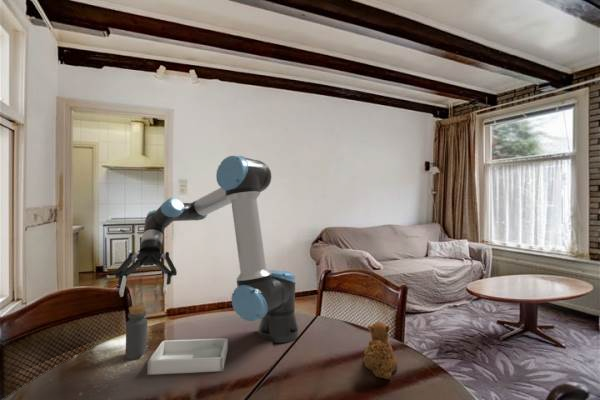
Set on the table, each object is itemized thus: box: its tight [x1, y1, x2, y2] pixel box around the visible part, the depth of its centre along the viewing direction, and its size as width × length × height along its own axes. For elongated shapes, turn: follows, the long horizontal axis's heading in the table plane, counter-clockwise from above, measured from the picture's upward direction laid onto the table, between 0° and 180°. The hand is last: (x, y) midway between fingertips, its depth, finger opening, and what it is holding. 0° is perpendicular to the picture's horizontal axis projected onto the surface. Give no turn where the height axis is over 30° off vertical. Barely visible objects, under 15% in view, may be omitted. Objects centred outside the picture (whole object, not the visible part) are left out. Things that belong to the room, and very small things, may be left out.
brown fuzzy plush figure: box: [363, 321, 399, 380], centre depth 89 cm, size 10×14×13 cm
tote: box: [146, 337, 229, 376], centre depth 91 cm, size 20×13×4 cm, turn 97°
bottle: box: [125, 304, 148, 361], centre depth 96 cm, size 6×6×15 cm
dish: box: [193, 344, 221, 358], centre depth 92 cm, size 8×8×3 cm
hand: (143, 293), depth 106 cm, fingers open, 13 cm apart
